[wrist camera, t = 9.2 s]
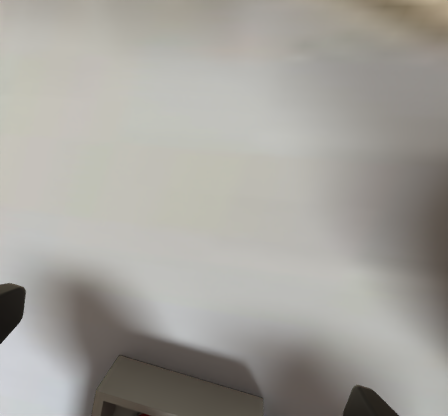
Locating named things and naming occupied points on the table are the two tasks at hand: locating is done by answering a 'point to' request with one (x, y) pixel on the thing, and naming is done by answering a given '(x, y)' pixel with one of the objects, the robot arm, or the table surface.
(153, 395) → the crate
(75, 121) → the table surface
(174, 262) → the table surface
